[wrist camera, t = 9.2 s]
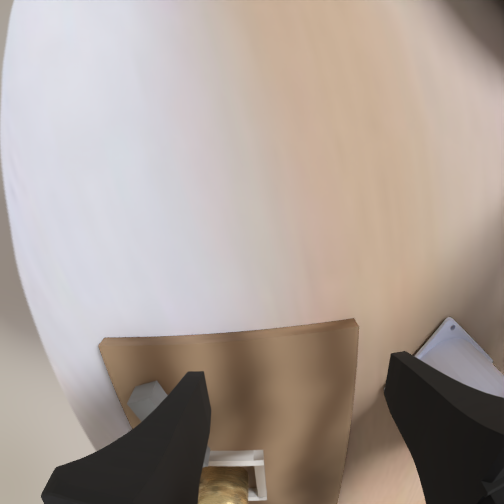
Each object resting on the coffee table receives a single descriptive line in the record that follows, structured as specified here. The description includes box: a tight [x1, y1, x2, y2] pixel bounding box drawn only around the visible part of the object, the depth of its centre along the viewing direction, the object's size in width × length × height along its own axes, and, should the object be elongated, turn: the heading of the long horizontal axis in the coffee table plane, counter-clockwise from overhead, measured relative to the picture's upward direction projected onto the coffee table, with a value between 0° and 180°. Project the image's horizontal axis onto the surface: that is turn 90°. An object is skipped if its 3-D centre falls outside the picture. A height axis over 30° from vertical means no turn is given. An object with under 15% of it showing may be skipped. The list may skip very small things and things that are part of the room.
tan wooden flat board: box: [98, 318, 359, 504], centre depth 23 cm, size 18×28×4 cm, turn 6°
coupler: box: [198, 466, 249, 504], centre depth 20 cm, size 5×4×7 cm
